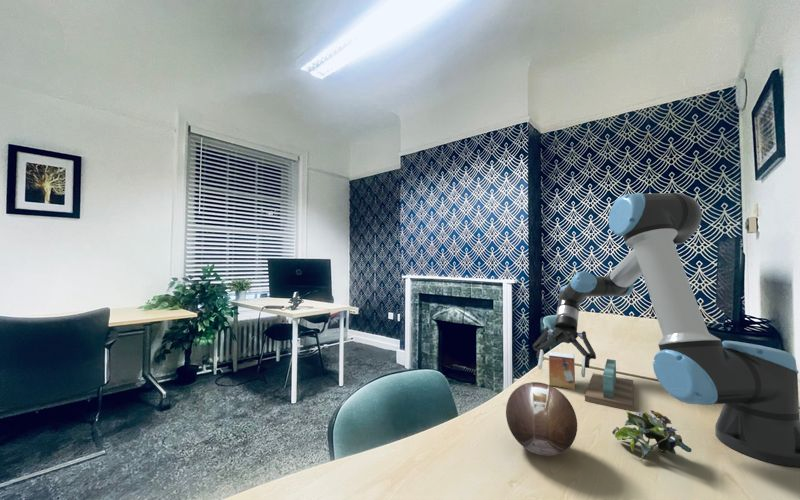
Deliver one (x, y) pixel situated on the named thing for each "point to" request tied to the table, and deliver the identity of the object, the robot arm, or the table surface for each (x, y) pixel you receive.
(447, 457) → the table surface
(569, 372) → the small box
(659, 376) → the robot arm
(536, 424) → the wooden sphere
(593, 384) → the ridge stand
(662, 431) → the green leafy plant
